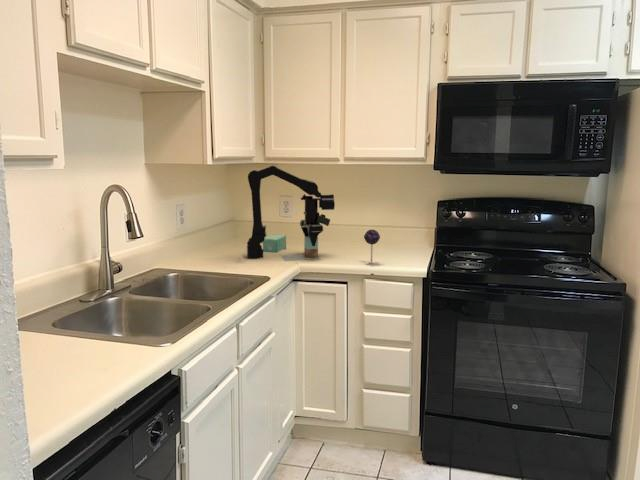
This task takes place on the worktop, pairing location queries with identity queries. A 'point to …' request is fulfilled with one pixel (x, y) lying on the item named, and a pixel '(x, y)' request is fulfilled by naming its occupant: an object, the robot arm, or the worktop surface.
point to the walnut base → (311, 253)
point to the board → (296, 257)
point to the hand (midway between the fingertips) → (311, 244)
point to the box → (274, 243)
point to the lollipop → (371, 238)
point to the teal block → (309, 243)
